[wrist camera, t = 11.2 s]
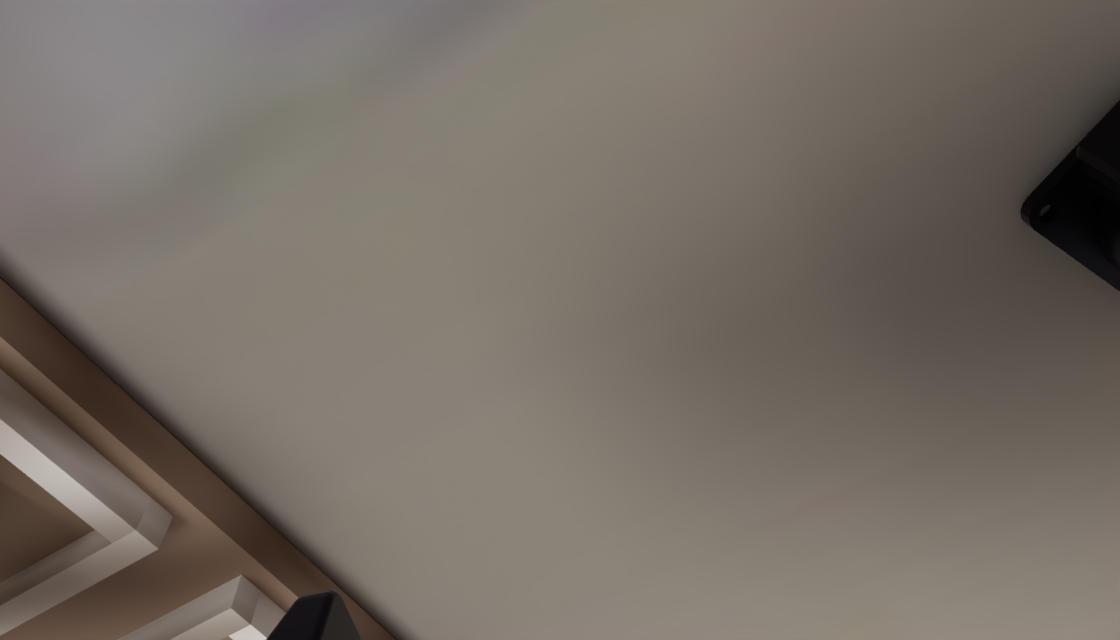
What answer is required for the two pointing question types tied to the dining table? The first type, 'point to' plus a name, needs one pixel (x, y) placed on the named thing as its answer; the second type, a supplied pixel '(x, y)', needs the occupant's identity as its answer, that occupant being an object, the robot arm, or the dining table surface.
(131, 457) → the board
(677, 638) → the dining table surface
